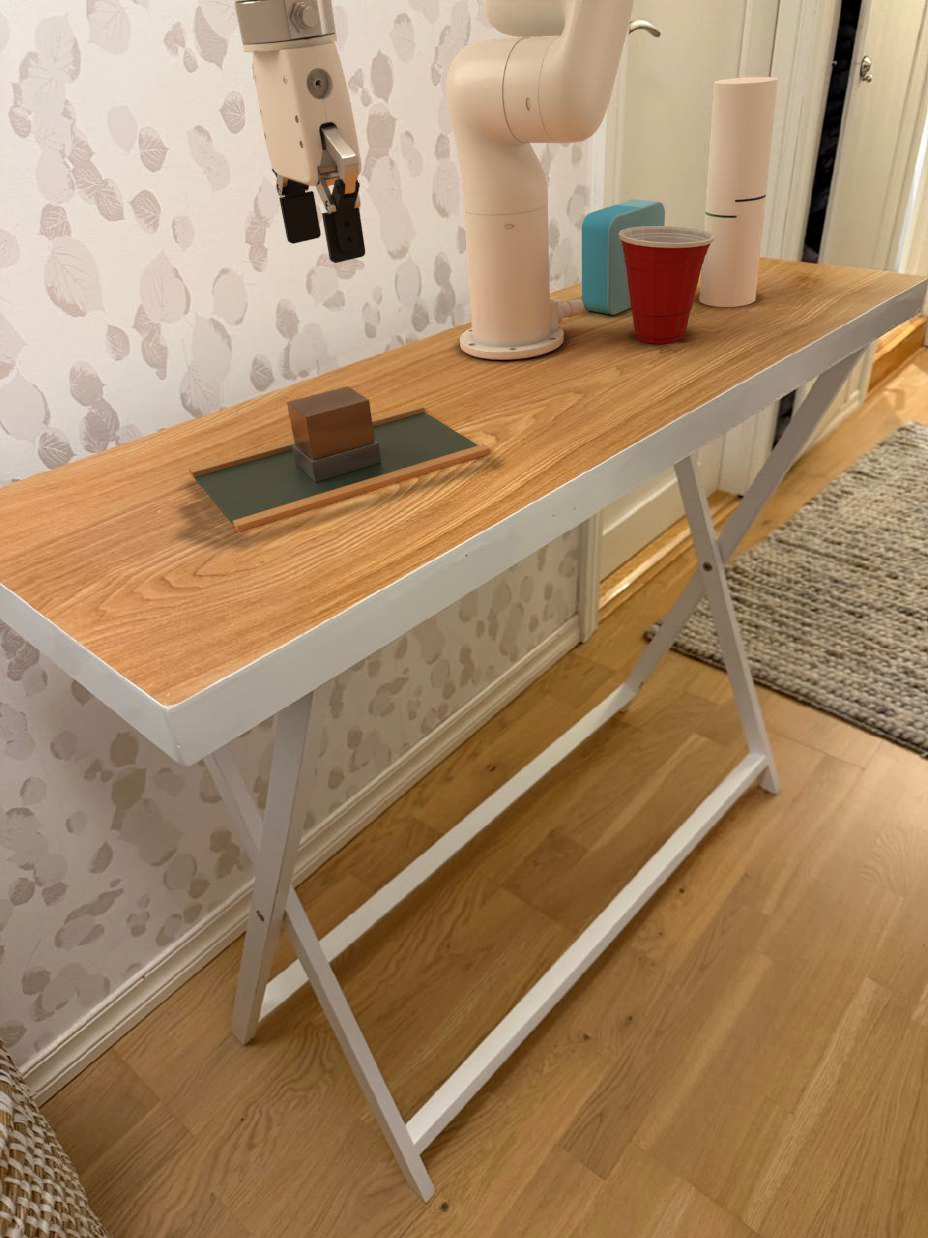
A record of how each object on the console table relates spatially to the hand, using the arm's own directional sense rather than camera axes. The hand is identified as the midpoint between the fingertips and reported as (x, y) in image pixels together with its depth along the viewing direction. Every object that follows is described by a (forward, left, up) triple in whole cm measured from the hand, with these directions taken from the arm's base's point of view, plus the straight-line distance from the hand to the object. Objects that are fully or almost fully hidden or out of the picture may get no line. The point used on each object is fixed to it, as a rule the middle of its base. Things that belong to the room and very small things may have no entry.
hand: (325, 249), depth 83 cm
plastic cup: (-42, -3, -18) cm, 46 cm away
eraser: (+5, +8, -17) cm, 19 cm away
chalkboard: (+5, +8, -18) cm, 20 cm away
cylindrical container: (-58, -9, -18) cm, 61 cm away
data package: (-47, -17, -18) cm, 53 cm away
